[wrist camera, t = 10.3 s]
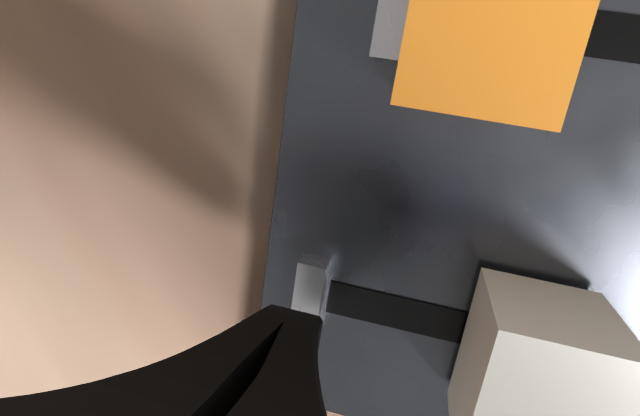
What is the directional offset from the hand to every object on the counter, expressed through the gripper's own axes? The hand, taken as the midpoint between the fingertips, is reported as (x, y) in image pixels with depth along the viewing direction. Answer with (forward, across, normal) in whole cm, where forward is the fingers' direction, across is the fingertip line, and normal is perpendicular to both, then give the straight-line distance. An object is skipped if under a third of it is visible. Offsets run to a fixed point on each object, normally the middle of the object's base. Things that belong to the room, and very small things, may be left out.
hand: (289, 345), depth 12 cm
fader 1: (+2, -3, -8) cm, 9 cm away
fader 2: (+2, -6, 0) cm, 6 cm away
